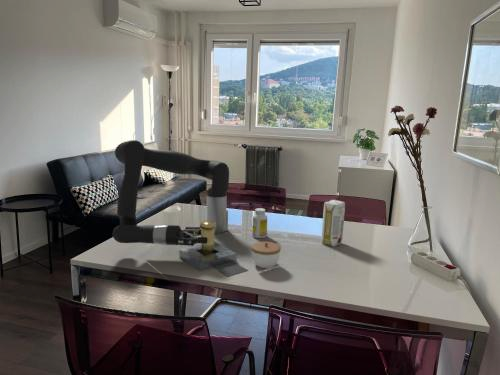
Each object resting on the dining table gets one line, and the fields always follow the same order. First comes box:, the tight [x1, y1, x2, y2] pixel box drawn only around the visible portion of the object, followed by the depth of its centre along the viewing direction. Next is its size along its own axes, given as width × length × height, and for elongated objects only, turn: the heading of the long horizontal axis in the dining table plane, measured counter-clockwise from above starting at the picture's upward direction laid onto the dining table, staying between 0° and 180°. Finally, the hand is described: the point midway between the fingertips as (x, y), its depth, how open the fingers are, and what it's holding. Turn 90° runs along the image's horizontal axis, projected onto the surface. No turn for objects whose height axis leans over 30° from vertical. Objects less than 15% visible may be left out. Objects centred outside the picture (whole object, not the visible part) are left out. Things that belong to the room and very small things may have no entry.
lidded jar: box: [251, 241, 282, 270], centre depth 141 cm, size 11×11×9 cm
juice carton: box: [321, 199, 346, 247], centre depth 166 cm, size 8×9×19 cm
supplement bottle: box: [252, 207, 268, 239], centre depth 173 cm, size 7×7×13 cm
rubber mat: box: [213, 261, 249, 278], centre depth 138 cm, size 9×9×1 cm
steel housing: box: [178, 240, 237, 272], centre depth 146 cm, size 16×16×4 cm
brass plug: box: [199, 219, 216, 256], centre depth 145 cm, size 6×6×14 cm
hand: (209, 236), depth 144 cm, fingers open, 8 cm apart
